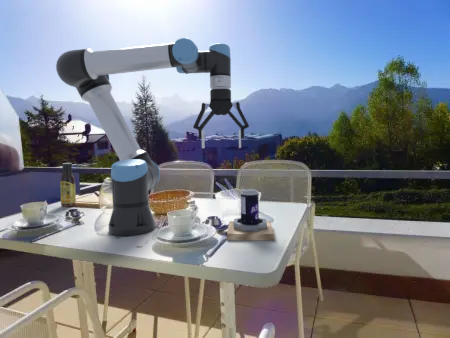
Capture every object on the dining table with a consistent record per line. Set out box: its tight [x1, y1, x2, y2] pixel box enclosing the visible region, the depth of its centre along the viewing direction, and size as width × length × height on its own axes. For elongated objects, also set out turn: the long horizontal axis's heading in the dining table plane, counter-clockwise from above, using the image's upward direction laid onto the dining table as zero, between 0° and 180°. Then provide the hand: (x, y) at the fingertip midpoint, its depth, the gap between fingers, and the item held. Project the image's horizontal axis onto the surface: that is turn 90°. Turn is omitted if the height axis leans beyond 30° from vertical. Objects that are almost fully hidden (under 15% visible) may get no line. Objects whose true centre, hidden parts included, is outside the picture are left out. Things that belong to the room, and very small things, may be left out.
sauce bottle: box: [59, 162, 77, 208], centre depth 149 cm, size 7×6×20 cm
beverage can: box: [240, 188, 260, 224], centre depth 103 cm, size 6×6×12 cm
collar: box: [233, 217, 267, 232], centre depth 104 cm, size 10×10×2 cm
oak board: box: [226, 220, 275, 241], centre depth 104 cm, size 14×14×2 cm
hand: (221, 147), depth 120 cm, fingers open, 13 cm apart
